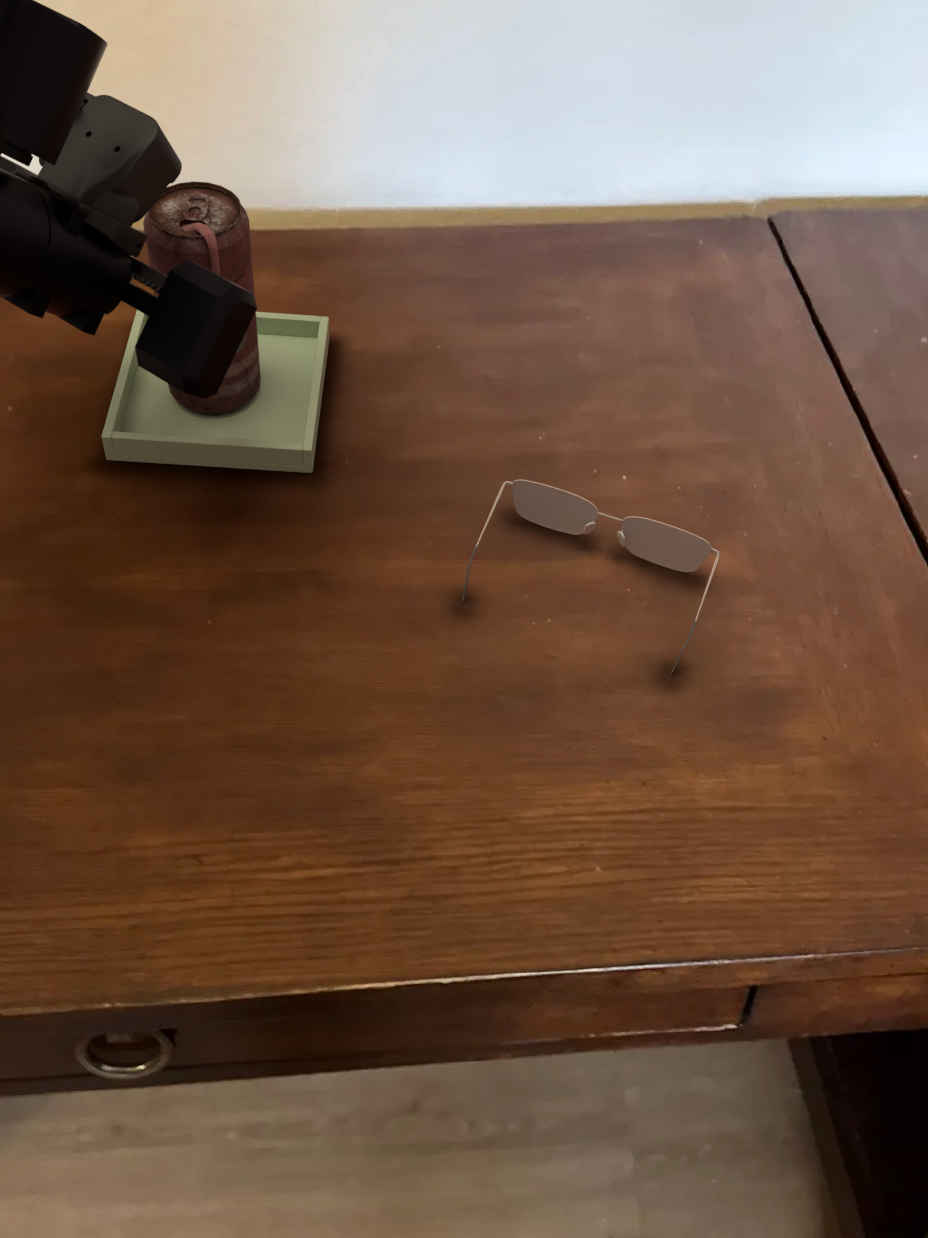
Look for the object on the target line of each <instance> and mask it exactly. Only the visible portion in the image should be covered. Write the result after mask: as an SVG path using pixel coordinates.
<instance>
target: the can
mask: <svg viewBox="0 0 928 1238" xmlns="http://www.w3.org/2000/svg"><path fill="white" fill-rule="evenodd" d="M143 218H144V219H143V222H142V224H143V231H144V232H143V233H144V234H146V235H148V237H147V239H146V241H145V243H146V245H145V246H146V251H147V257H148V263H149V266H150V267H152V268H154V269H156V270H157V271H159V272H161V273H163V274H165V275H166V276H168V273H169V271H170V270H171V269H172V268H174V267H175V266H177V265H179V264H180V263H182V262H183V261H185V260H186V259H189V260H191V261H193V262H195V263H197V264H199V265H201V266H203V267H205V268H207V269H209V270H211V271H213V272H215V273H217V274H219V275H220V276H222V277H224V278H226V279H228V280H230V281H231V282H233V283H235V284H237V285H239V286H240V287H242V288H244V289H246V290H248V291H250V292H251V293H253V294H254V296H255V283H254V281H255V280H254V269H253V267H254V266H253V256H252V255H253V254H252V241H251V227H250V218H249V217H248V212H247V210H246V209H245V208H244V206H243V205H242V202H241V200H240V198H239V197H238V196H237V195H236V194H235V193H234V192H233V191H232V190H231V189H228V188H227V187H224V186H223V185H219V184H216V183H212V182H209V181H185V182H178V183H176V184H175V183H174V184H171V185H170V186H169V185H168V186H167V187H166V189H165V190H164V191H163V193H162V194H161V195H160V196H159V198H158V199H157V200H156V202H155V203H154V204H153V205H152V207H151V208H150V209H149V210H148V212H147V213H146V214H145V215H144V217H143ZM153 295H154V296H156V297H158V295H159V293H157V292H155V290H153ZM255 297H256V296H255ZM256 312H257V311H256ZM256 312H255V314H254V316H253V318H252V320H251V323H250V325H249V327H248V329H247V331H246V334H247V338H246V340H245V342H244V344H243V346H242V348H241V350H240V351H239V352H237V353H236V354H235V356H234V358H233V360H232V362H231V365H230V367H229V369H228V371H227V373H226V375H225V377H224V379H223V381H222V383H221V386H220V388H219V390H218V392H217V394H216V395H213V396H211V397H208V398H206V399H202V398H198V397H195V396H192V395H188V394H185V393H183V392H182V391H180V390H178V389H176V388H175V387H173V386H171V385H170V384H168V386H169V390H170V393H171V395H172V396H173V397H174V398H175V399H176V401H177V402H178V403H180V404H181V405H182V406H183V407H185V408H187V409H188V410H190V411H192V412H195V413H198V414H202V415H211V416H219V415H225V414H230V413H233V412H235V411H238V410H240V409H242V408H243V407H244V406H246V405H247V404H248V403H250V401H251V400H252V399H253V398H254V396H255V395H256V393H257V392H258V390H259V388H260V381H261V375H260V362H259V348H258V334H257V321H256Z"/></svg>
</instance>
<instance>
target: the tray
mask: <svg viewBox="0 0 928 1238" xmlns="http://www.w3.org/2000/svg"><path fill="white" fill-rule="evenodd" d="M148 317H149V316H147V315H146V314H144V313H142V312H140V311H139V310H137V309H136V312H135V315H134V319H133V322H132V325H131V329H130V332H129V337H128V340H127V344H126V347H125V351H124V353H123V354H124V355H123V358H122V361H121V365H120V368H119V372H118V375H117V379H116V382H115V386H114V389H113V394H112V398H111V401H110V403H109V408H108V412H107V415H106V418H105V422H104V425H103V429H102V432H101V436H100V437H101V441H102V446H103V450H104V455H105V459H106V461H115V462H116V461H117V462H132V463H147V464H163V465H178V466H179V465H180V466H197V467H207V468H208V467H211V468H225V469H226V468H227V469H241V470H242V469H243V470H257V471H271V472H288V473H304V474H305V473H306V474H312V473H314V465H315V456H316V448H317V441H318V434H319V433H318V432H319V425H320V424H319V423H320V415H321V408H322V401H323V392H324V386H325V385H324V384H325V379H326V378H325V377H326V370H327V369H326V368H327V361H328V352H329V345H330V317H329V316H324V315H321V316H319V315H309V314H307V315H306V314H297V313H296V314H294V313H282V312H281V313H280V312H266V311H256V321H257V334H258V348H259V362H260V375H261V381H260V388H259V390H258V392H257V393H256V395H255V396H254V398H253V399H252V400H251V401H250V403H248V404H247V405H246V406H244V407H243V408H242V409H240V410H238V411H235V412H233V413H230V414H225V415H219V416H211V415H202V414H198V413H195V412H192V411H190V410H188V409H187V408H185V407H183V406H182V405H181V404H180V403H178V402H177V401H176V399H175V398H174V397H173V396H172V395H171V393H170V390H169V386H168V383H166V382H165V381H163V380H161V379H160V378H158V377H156V376H155V375H153V374H151V373H150V372H148V371H146V370H145V369H143V368H141V367H140V366H138V362H137V356H136V350H135V345H136V343H137V341H138V339H139V337H140V334H141V332H142V330H143V328H144V326H145V324H146V321H147V319H148Z"/></svg>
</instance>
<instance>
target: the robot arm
mask: <svg viewBox="0 0 928 1238" xmlns="http://www.w3.org/2000/svg"><path fill="white" fill-rule="evenodd" d="M107 47H108V42H107V41H106V40H105V39H104V38H103V37H101V36H100V35H98V33H96V32H94V31H93V30H92V29H90V28H89V27H87V26H86V25H85V24H83V23H81V22H79V21H76V19H73V18H71V17H69V16H67V15H65V14H63V13H61V12H59V11H56V10H54V9H52V8H51V7H48V6H47V5H44V4H42V3H41V2H38V1H36V0H0V298H1V299H4V300H5V301H7V302H8V303H10V304H12V305H13V306H15V307H17V308H18V309H20V310H22V311H23V312H25V313H27V314H29V315H31V316H34V317H38V318H40V319H43V318H44V316H45V314H46V313H48V314H52V315H54V316H55V317H57V318H59V319H60V320H62V321H63V322H65V323H67V324H69V325H70V326H72V327H74V328H75V329H77V330H79V331H80V332H82V333H84V334H88V335H91V336H93V337H95V335H96V334H97V332H98V330H99V327H100V325H101V322H102V321H103V318H104V316H105V315H109V314H111V313H112V312H113V311H114V310H116V308H117V307H118V306H119V305H120V304H121V302H123V303H125V304H127V305H129V306H130V307H132V308H133V309H135V310H136V311H137V310H139V311H140V312H142V313H144V314H146V315H147V316H149V317H148V319H147V321H146V324H145V326H144V328H143V330H142V332H141V334H140V337H139V339H138V341H137V343H136V345H135V350H136V356H137V362H138V366H140V367H141V368H143V369H145V370H146V371H148V372H150V373H151V374H153V375H155V376H156V377H158V378H160V379H161V380H163V381H165V382H166V383H168V384H170V385H171V386H173V387H175V388H176V389H178V390H180V391H182V392H183V393H185V394H188V395H192V396H195V397H198V398H202V399H206V398H208V397H211V396H213V395H216V394H217V392H218V390H219V388H220V386H221V383H222V381H223V379H224V377H225V375H226V373H227V371H228V369H229V367H230V365H231V362H232V360H233V358H234V356H235V354H236V353H237V352H239V351H240V350H241V348H242V346H243V344H244V342H245V340H246V338H247V334H246V331H247V329H248V327H249V325H250V323H251V320H252V318H253V316H254V314H255V312H257V310H258V305H257V301H256V296H254V294H255V293H254V294H253V293H251V292H250V291H248V290H246V289H244V288H242V287H240V286H239V285H237V284H235V283H233V282H231V281H230V280H228V279H226V278H224V277H222V276H220V275H219V274H217V273H215V272H213V271H211V270H209V269H207V268H205V267H203V266H201V265H199V264H197V263H195V262H193V261H191V260H189V259H186V260H185V261H183V262H182V263H180V264H179V265H177V266H175V267H174V268H172V269H171V270H170V271H169V273H168V276H166V275H165V274H163V273H161V272H159V271H157V270H156V269H154V268H152V267H150V264H149V265H148V263H146V262H144V261H141V260H139V259H138V257H139V256H140V255H141V251H142V250H143V248H144V246H145V243H146V239H147V237H148V235H146V234H145V232H142V231H140V230H138V229H137V228H135V227H133V225H134V224H135V223H137V222H139V221H141V220H142V219H143V218H145V214H146V213H147V212H148V210H149V209H150V208H151V207H152V205H153V204H154V203H155V202H156V200H157V199H158V198H159V196H160V195H161V194H162V193H163V191H164V190H165V189H166V187H169V185H170V184H174V183H175V182H176V180H177V179H178V178H179V177H180V175H181V172H182V168H183V164H182V161H181V159H180V158H179V156H178V154H177V153H176V150H175V148H174V147H173V145H172V144H171V142H170V141H169V139H168V138H167V136H166V134H165V133H164V130H163V129H162V127H161V126H160V124H159V122H158V121H157V120H156V119H155V118H154V117H153V116H151V115H149V114H146V112H143V111H141V110H139V109H137V108H136V107H134V106H131V105H129V104H127V103H125V102H124V101H122V100H120V99H118V98H115V97H114V96H111V95H109V94H99V95H94V94H92V93H90V92H88V91H89V89H90V87H91V85H92V82H93V79H94V78H95V75H96V72H97V70H98V68H99V66H100V63H101V61H102V58H103V56H104V54H105V52H106V49H107ZM2 155H4V156H5V157H4V156H2ZM34 156H35V157H36V158H38V163H39V165H40V166H41V167H42V168H41V169H40V171H39V172H38V174H37V173H35V172H33V171H32V170H29V169H28V168H26V167H24V166H22V165H20V164H23V165H25V166H27V167H30V166H31V163H32V161H33V159H34ZM6 157H8V158H6ZM9 158H10V159H12V160H14V161H16V162H18V163H20V164H18V163H16V162H14V161H12V160H10V159H9ZM132 280H133V281H136V282H138V283H140V284H142V285H143V286H145V287H147V288H149V289H150V290H152V291H154V290H155V292H157V293H159V295H158V297H156V296H154V294H152V293H151V292H149V291H148V290H145V288H144V289H143V288H141V287H140V286H139V285H136V284H135V283H133V282H132Z"/></svg>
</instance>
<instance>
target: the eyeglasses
mask: <svg viewBox="0 0 928 1238" xmlns="http://www.w3.org/2000/svg"><path fill="white" fill-rule="evenodd" d="M506 486H508V487H511V497H512V502H513V506H514V508H515V511H516V513H517V514H518V515H519V516H520V517H521V518H523V519H525V520H527V521H529V522H531V523H534V524H536V525H538V526H541V527H543V528H547V529H550V530H553V531H556V532H561V533H565V534H569V535H574V536H575V535H576V536H577V535H578V536H579V535H582V534H583V535H587V534H590V533H592V532H594V530H595V528H596V527H597V524H596V521H597V520H598V517H599V516H602V517H605V518H609V519H611V520H615V521H618V522H620V530H618V531H616V536H617V537H616V538H617V540H618V543H619V544H620V546H621V547H622V548H624V547H625V548H626V550H627V551H628V552H629V553H631V554H632V555H634V556H636V557H638V558H640V559H643V560H645V561H647V562H650V563H653V564H655V565H658V566H661V567H663V568H667V569H669V570H670V569H671V570H672V571H673V570H674V571H677V572H682V573H693V572H695V571H697V570H698V569H700V568H701V567H702V565H703V564H704V563H705V562H706V561H707V560H708V558H709V556H710V554H711V553H712V554H714V555H715V559H714V563H713V565H712V569H711V570H710V574H709V577H708V580H707V583H706V587H705V589H704V592H703V596H702V598H701V601H700V605H699V608H698V611H697V613H696V617H695V620H694V621H693V624H692V626H691V629H690V631H689V633H688V636H687V638H686V640H685V643H684V644H683V647H682V648H681V651H680V652H679V654H678V656H677V658H676V660H675V662H674V665H673V666H672V669H671V671H670V675H672V674H673V673H674V671H675V668H676V666H677V664H678V662H679V660H680V658H681V657H682V655H683V653H684V651H685V649H686V646H688V643H689V642H690V639H691V637H692V634H693V633H694V630H695V627H696V625H697V620H698V617H699V614H700V612H701V609H702V607H703V604H704V601H705V599H706V595H707V593H708V590H709V587H710V584H711V581H712V579H713V576H714V573H715V570H716V567H717V564H718V562H719V559H720V551H719V550H718V549H716V548H713V547H712V545H711V543H710V542H709V541H708V540H706V539H705V538H703V537H701V536H699V535H696V534H694V533H692V532H690V531H688V530H685V529H683V528H679V527H677V526H674V525H671V524H668V523H665V522H662V521H658V520H655V519H652V518H647V517H642V516H637V515H636V516H635V515H632V516H626V517H624V518H623V519H622V518H619V517H616V516H612V515H610V514H607V513H603V512H599V508H597V506H596V505H595V504H594V503H593V502H591V501H590V500H588V499H586V498H584V497H582V496H580V495H578V494H575V493H573V492H571V491H567V490H565V489H561V488H558V487H555V486H552V485H548V484H545V483H541V482H537V481H533V480H527V479H515V480H513V481H510V480H506V481H504V482H503V484H502V485H501V487H500V488H499V491H498V493H497V496H496V498H495V501H494V503H493V505H492V507H491V510H490V512H489V515H488V517H487V519H486V521H485V524H484V526H483V528H482V530H481V533H480V536H479V538H478V540H477V543H476V545H475V546H474V548H473V550H472V553H471V557H470V558H469V561H468V564H467V568H466V575H465V581H464V587H463V594H462V599H461V602H464V601H465V598H466V595H467V594H466V593H467V588H468V581H469V580H468V579H469V573H470V569H471V565H472V562H473V560H474V557H475V554H476V552H477V550H478V546H479V544H480V542H481V539H482V538H483V535H484V533H485V530H486V528H487V526H488V524H489V522H490V520H491V518H492V515H493V514H494V512H495V509H496V507H497V505H498V502H499V500H500V499H501V496H502V494H503V491H504V489H505V487H506Z"/></svg>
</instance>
